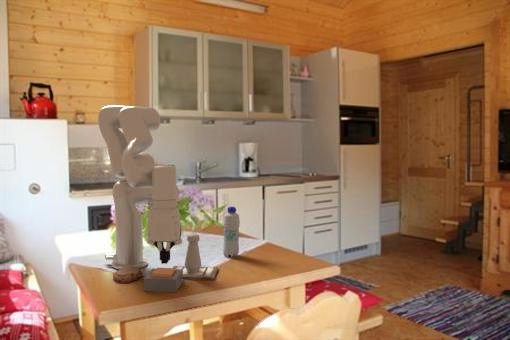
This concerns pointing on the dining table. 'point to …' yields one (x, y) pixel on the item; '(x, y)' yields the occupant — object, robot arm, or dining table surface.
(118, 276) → the cookie
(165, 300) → the dining table surface
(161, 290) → the button housing
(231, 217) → the bottle
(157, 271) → the button
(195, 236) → the salt shaker
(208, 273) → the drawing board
